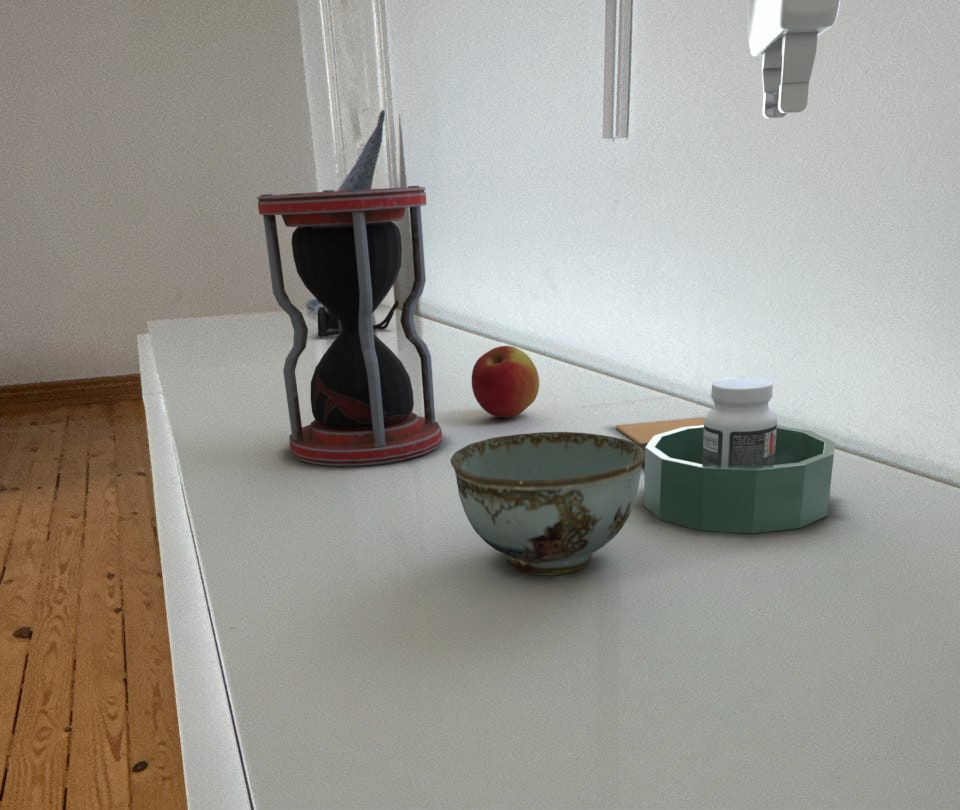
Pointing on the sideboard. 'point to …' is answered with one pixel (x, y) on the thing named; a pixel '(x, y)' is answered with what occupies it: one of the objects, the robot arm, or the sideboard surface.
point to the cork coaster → (655, 428)
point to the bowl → (548, 495)
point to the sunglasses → (331, 322)
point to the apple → (505, 381)
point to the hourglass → (353, 324)
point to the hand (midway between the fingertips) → (782, 115)
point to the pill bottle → (740, 424)
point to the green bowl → (738, 483)
